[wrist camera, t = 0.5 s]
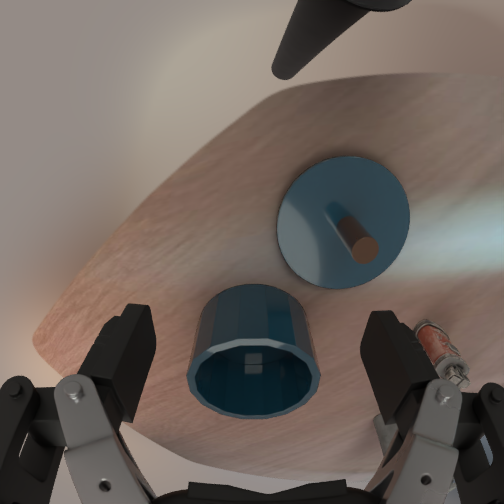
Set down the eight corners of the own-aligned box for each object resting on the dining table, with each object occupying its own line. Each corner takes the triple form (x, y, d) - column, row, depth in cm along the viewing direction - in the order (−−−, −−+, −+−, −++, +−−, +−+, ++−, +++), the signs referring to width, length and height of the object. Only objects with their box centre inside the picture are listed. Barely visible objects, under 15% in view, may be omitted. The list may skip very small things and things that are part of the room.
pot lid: (276, 151, 25) (284, 161, 20) (412, 161, 25) (447, 174, 20) (274, 284, 31) (278, 321, 26) (392, 280, 31) (414, 313, 26)
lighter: (451, 334, 36) (481, 381, 26) (435, 350, 37) (463, 398, 28) (425, 315, 34) (460, 367, 25) (408, 333, 35) (438, 387, 26)
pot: (193, 283, 31) (177, 337, 24) (312, 282, 31) (329, 336, 24) (205, 364, 37) (196, 417, 29) (301, 364, 37) (310, 417, 29)
